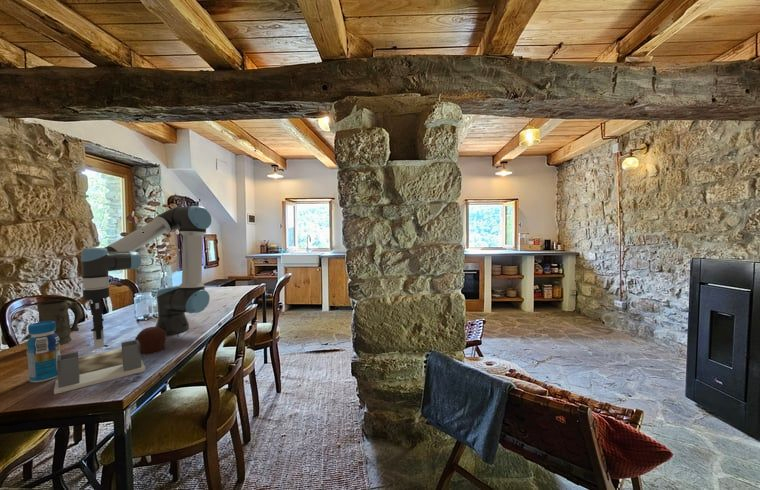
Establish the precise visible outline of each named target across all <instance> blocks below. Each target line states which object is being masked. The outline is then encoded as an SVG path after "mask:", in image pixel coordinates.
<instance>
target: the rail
mask: <svg viewBox="0 0 760 490" xmlns="http://www.w3.org/2000/svg"><path fill="white" fill-rule="evenodd" d="M78 359H79V373H80V374H84V373H89V372H93V371H97V370H101V369H105V368H110V367H114V366H118V365H122V364H123V360H122V348H120V349H116V350H115V349H114V350H111V351H105V352H101V353H96V354H90V355H87V356H86V355H85V356H81V357H78Z"/></svg>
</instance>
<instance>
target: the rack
mask: <svg viewBox="0 0 760 490" xmlns="http://www.w3.org/2000/svg"><path fill="white" fill-rule="evenodd" d="M121 349H122V360H123V363H122V364H118V365H114V366H110V367H105V368H101V369H97V370H93V371H88V372H84V373H79V359H78V358H79V351H73V352H69V353H63V354H60V355H58V358H57V373H58V377H57V379H56V380H55V383H54V389H53V394H54V395H57V394H60V393H64V392H69V391H72V390H76V389H80V388H84V387H89V386H92V385H95V384H100V383H103V382H108V381H111V380H115V379H119V378H123V377H127V376H131V375H134V374H138V373H142V372H146V366H145V364H144V362H143V360H142V356H141V355H142V354H141V351H140V343H139V341H138V340H135V339H133V340H129V341H124V342H121Z"/></svg>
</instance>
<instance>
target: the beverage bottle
mask: <svg viewBox="0 0 760 490" xmlns="http://www.w3.org/2000/svg"><path fill="white" fill-rule="evenodd" d="M27 329H28V330H27V331H28V332H27V333H28V335H29V336H30V337H29V338H28V340H27V342H26V344H25V345H26V348H27V349H26V352H25V353H26V356H27V364H28V365H27V366H28V367H27V368H28V381H29V382H30V383H43V382H47V381H50V380H53V379H56V378H58V373H57V358H58V355H61V345H60V344H59V340H60V339H59V337H58V335H57V334H56V333H54V332H53V331H55V330H56V323H55V321H44V322H39V321H38V322H34V323H30V324H29V325H28V327H27Z"/></svg>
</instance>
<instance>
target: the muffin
mask: <svg viewBox="0 0 760 490" xmlns="http://www.w3.org/2000/svg"><path fill="white" fill-rule="evenodd" d="M166 334H167V333H166V332H165V331H164V330H163V329H161V328H159V327H155V326H149V327H146V328H143V329H142V330H140V331H139V332H138V334H137V335H136V337H135V339H134V340H138V341H139V343H140V351H141V355H144V354H145V355H152V354H156V353H159V352H161V351H163V350H165V345H166V344H165V343H166V337H167V335H166Z"/></svg>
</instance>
